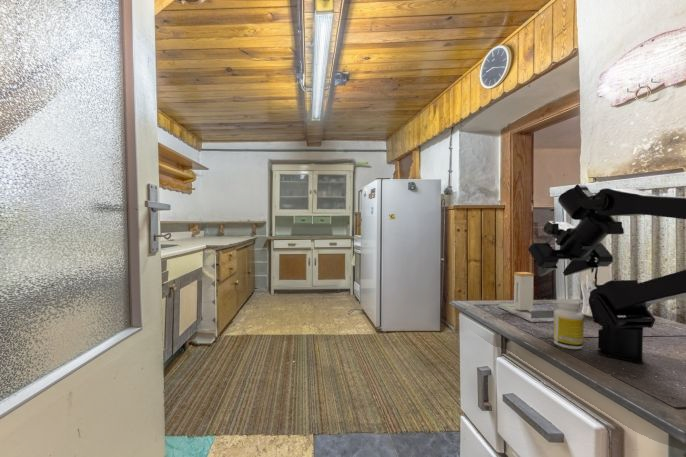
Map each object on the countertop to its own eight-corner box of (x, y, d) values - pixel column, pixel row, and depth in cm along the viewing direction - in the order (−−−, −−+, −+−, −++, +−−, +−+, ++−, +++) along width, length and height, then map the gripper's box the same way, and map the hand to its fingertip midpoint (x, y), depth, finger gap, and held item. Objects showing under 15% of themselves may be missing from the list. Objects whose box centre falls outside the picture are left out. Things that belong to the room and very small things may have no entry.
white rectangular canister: (532, 309, 96) (533, 273, 96) (519, 310, 96) (520, 273, 95) (526, 307, 99) (526, 272, 99) (513, 307, 99) (514, 272, 98)
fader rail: (555, 321, 89) (555, 310, 89) (531, 321, 89) (531, 311, 88) (519, 306, 105) (519, 297, 105) (498, 307, 104) (498, 297, 104)
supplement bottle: (589, 350, 69) (590, 304, 69) (563, 349, 69) (564, 304, 69) (571, 340, 75) (572, 298, 74) (548, 340, 75) (548, 298, 74)
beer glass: (585, 317, 93) (586, 265, 93) (575, 311, 100) (576, 262, 100) (614, 319, 91) (615, 266, 91) (602, 313, 98) (603, 263, 98)
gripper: (603, 210, 81) (567, 251, 92) (533, 210, 79) (505, 251, 90) (634, 244, 73) (591, 283, 84) (557, 244, 71) (524, 284, 82)
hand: (551, 274), depth 86 cm, fingers open, 7 cm apart
